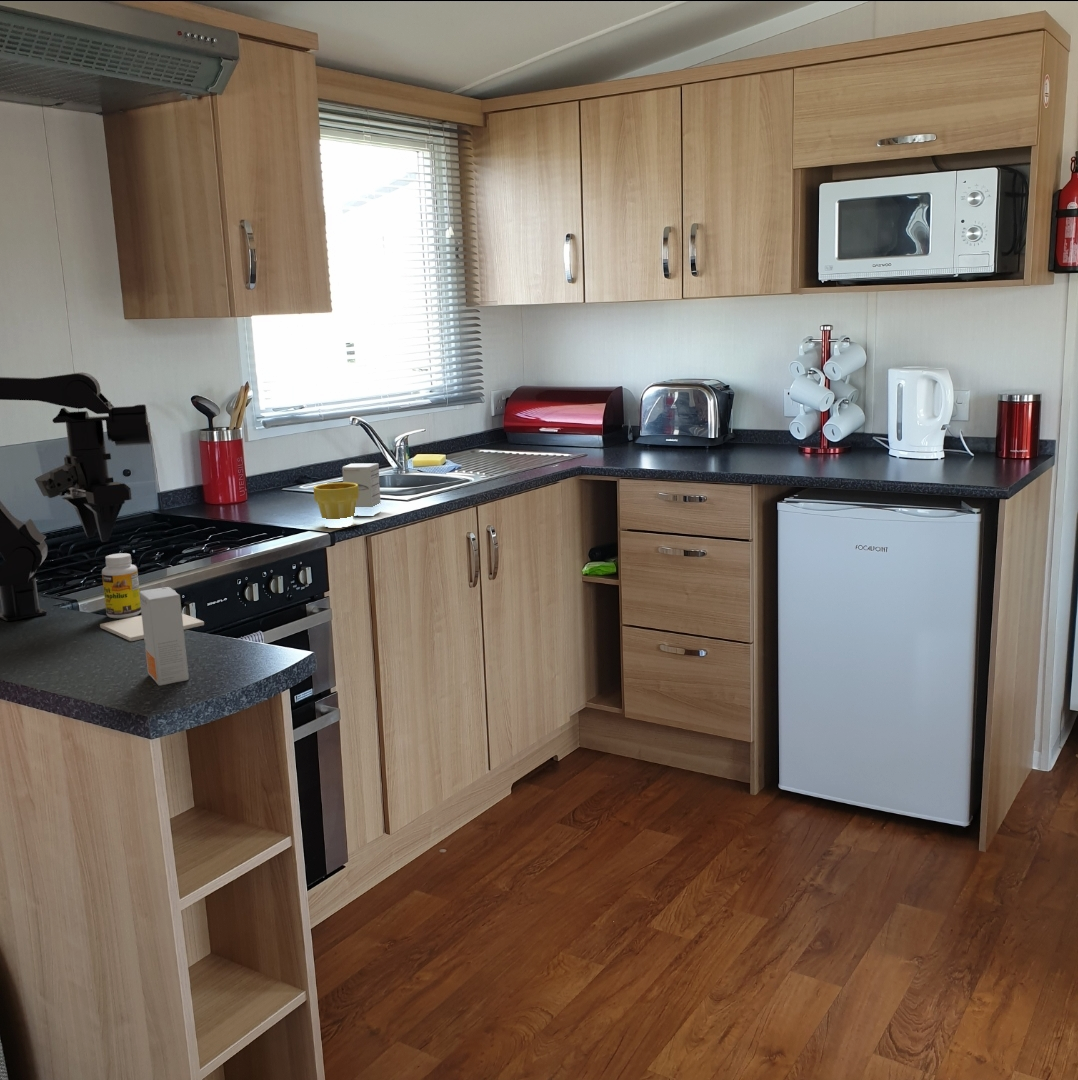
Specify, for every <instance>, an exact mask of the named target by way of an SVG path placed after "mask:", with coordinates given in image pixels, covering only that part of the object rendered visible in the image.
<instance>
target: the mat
mask: <svg viewBox="0 0 1078 1080" xmlns="http://www.w3.org/2000/svg"><path fill="white" fill-rule="evenodd" d="M182 619H183V628H184V630H189V629H192V628H197V627H200V626H202V627H203V626H205V621H203V620H201V619H199V618H196V617H193V616H190V615H187V614H185V613H183V612H182ZM99 627H100V628H101V629H103V630H105V631H107V632H109V633H112V634H114V635H116V636H119V637H120V638H123V639H125V640H127V641H129V642H134V641H138V640H139V641H140V640H143V639H144V632H143V623H142V614H141V615H136V616H133V617H128V618H121V619H119V620H112V621H109V622H108V621H107V622H104V623H100V624H99Z"/></svg>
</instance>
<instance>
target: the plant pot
mask: <svg viewBox="0 0 1078 1080" xmlns="http://www.w3.org/2000/svg"><path fill="white" fill-rule="evenodd" d="M313 498H314V502H315V503H317V505H318V508H319V509H318V510H319V512H320V516H321V519H322V518H326V519H340V518H347V517H351V516H354V513H355V506H356V500H357V499H358V498H359V489H358V484H356V483H346V482H343V481H342V482H328V483H322V484H317V485H315V486H314V487H313ZM354 517H355V516H354Z"/></svg>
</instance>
